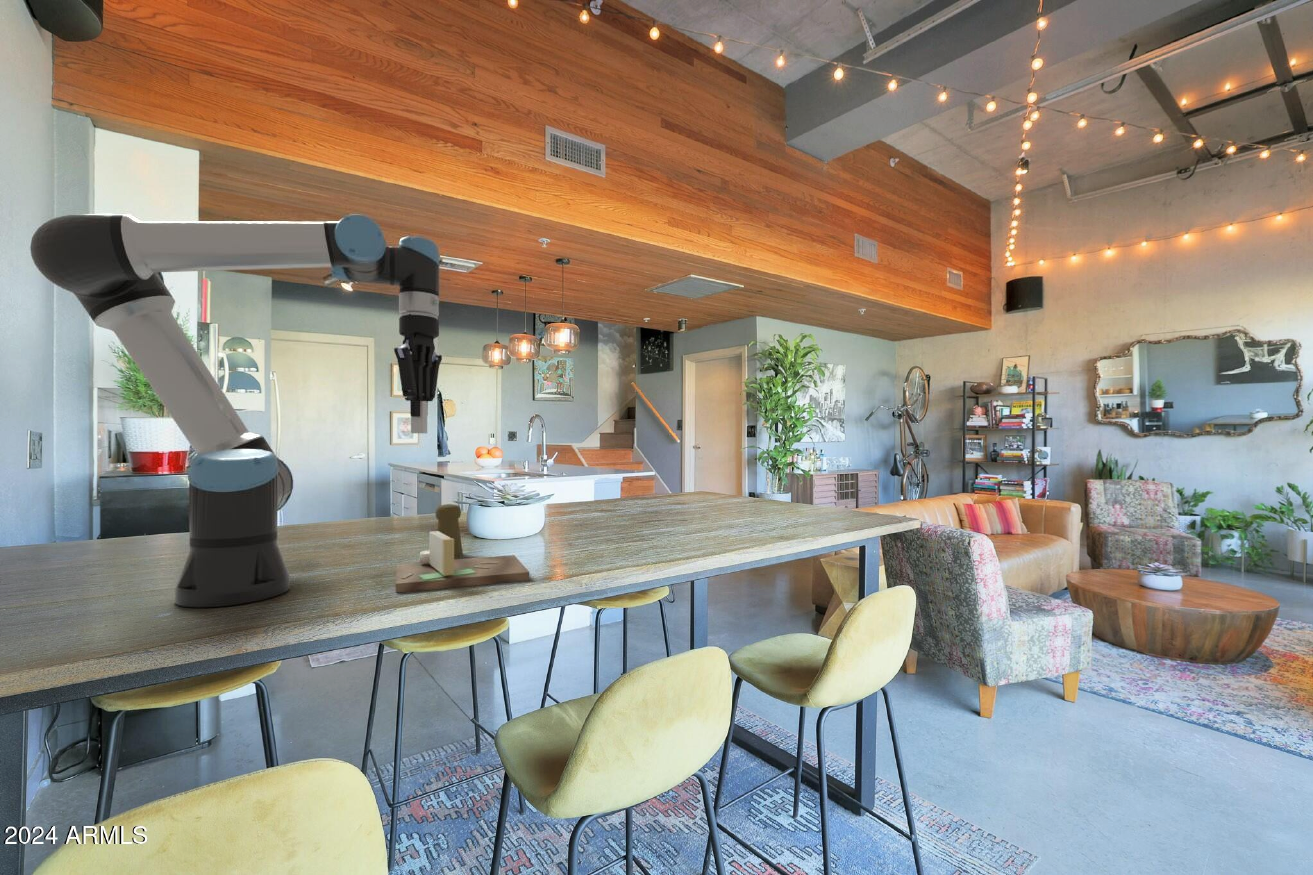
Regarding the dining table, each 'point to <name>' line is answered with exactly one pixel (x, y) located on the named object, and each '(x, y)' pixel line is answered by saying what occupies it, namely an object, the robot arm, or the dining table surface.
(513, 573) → the brown flat wooden board
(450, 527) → the cork
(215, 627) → the dining table surface
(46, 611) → the dining table surface
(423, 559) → the cream block with knob
